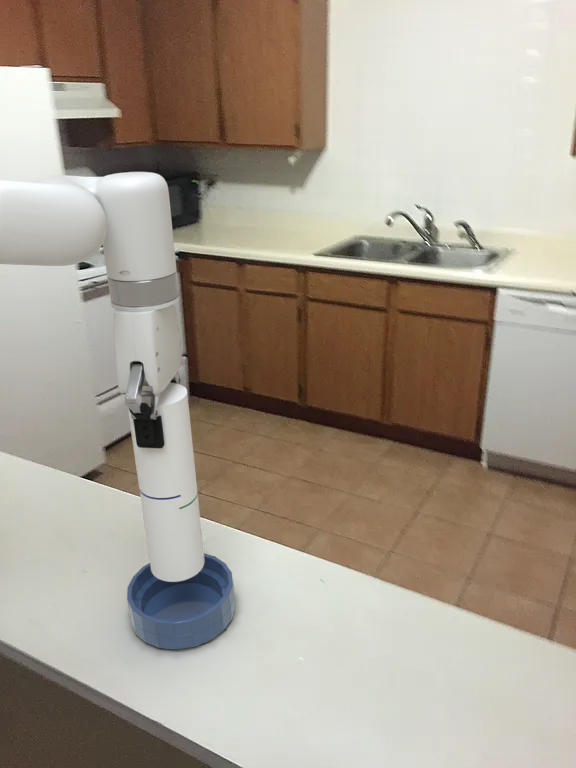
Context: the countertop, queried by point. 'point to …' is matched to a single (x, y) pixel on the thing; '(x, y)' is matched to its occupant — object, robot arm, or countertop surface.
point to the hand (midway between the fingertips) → (161, 430)
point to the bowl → (182, 606)
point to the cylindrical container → (170, 491)
